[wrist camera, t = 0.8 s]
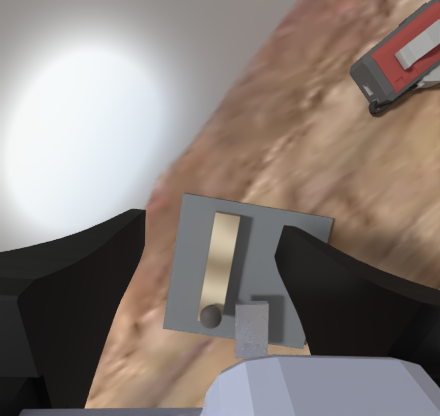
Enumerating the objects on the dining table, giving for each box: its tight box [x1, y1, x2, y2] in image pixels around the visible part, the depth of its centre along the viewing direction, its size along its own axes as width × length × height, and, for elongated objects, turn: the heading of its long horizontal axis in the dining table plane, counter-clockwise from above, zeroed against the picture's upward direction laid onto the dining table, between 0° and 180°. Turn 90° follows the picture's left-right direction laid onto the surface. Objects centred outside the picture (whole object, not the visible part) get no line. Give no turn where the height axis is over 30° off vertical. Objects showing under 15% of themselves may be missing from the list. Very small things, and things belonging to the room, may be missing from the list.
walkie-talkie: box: [350, 0, 440, 114], centre depth 26 cm, size 9×4×20 cm
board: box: [163, 193, 333, 349], centre depth 30 cm, size 19×20×1 cm
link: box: [198, 211, 240, 329], centre depth 27 cm, size 14×3×4 cm, turn 170°
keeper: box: [235, 301, 269, 358], centre depth 28 cm, size 4×7×4 cm, turn 0°
